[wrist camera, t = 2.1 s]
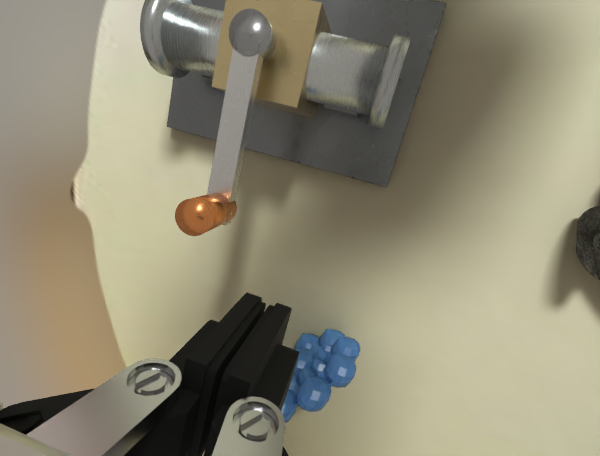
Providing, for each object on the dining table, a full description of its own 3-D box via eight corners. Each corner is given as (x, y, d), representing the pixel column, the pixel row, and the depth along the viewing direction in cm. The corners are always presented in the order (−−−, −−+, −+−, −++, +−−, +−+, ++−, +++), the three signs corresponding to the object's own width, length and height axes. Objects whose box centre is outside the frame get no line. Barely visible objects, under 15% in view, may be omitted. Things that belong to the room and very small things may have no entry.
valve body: (196, -38, 32) (121, -120, 22) (443, 8, 28) (479, -64, 19) (173, 127, 36) (102, 117, 27) (385, 186, 33) (391, 199, 23)
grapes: (281, 379, 40) (245, 468, 29) (261, 330, 40) (216, 402, 28) (373, 361, 37) (373, 453, 26) (353, 308, 36) (345, 379, 25)
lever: (242, 14, 22) (207, -23, 18) (280, 22, 22) (255, -14, 17) (206, 215, 26) (170, 228, 22) (238, 225, 26) (208, 241, 21)
